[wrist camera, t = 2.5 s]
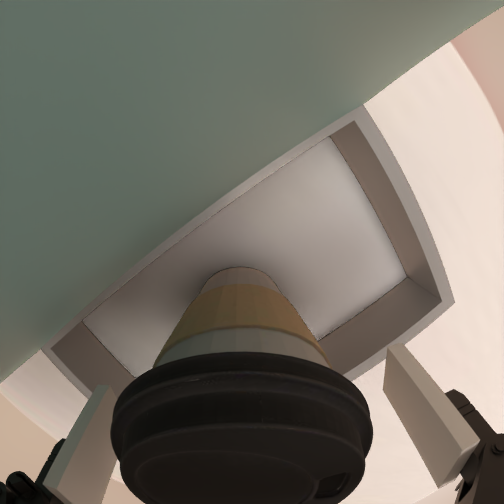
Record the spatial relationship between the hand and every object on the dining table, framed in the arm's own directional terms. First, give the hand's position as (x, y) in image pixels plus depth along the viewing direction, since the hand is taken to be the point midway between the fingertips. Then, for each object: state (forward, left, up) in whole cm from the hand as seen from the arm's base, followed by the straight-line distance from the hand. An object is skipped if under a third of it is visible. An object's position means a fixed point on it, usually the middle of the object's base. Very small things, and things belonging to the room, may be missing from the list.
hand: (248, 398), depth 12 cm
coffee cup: (0, 0, -10) cm, 10 cm away
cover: (-7, +3, -4) cm, 9 cm away
